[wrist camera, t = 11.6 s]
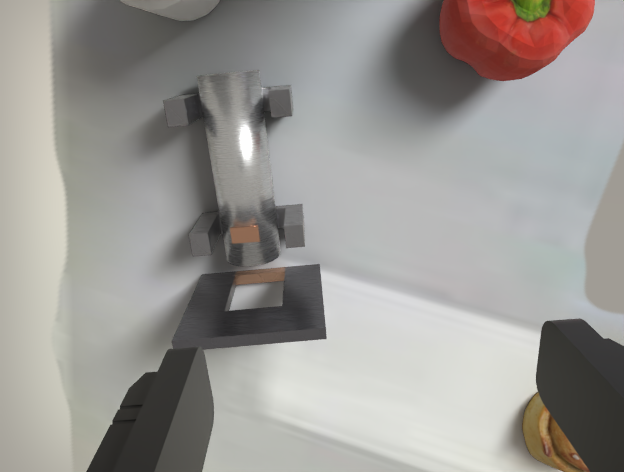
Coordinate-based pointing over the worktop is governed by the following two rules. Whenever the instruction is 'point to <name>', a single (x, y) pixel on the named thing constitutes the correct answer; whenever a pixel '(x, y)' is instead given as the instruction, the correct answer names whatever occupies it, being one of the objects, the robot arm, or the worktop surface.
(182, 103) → the grey metal blocks
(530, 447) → the pastry
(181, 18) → the can
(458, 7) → the vegetable
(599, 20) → the worktop surface
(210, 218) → the grey u-shaped bracket
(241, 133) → the tube
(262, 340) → the frame
